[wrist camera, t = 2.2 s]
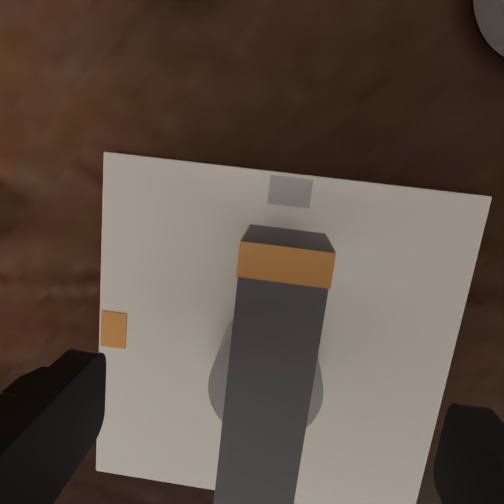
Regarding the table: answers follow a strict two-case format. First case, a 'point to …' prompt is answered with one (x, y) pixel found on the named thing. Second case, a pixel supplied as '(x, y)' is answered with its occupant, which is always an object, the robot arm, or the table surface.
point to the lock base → (333, 331)
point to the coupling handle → (272, 362)
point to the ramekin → (491, 22)
